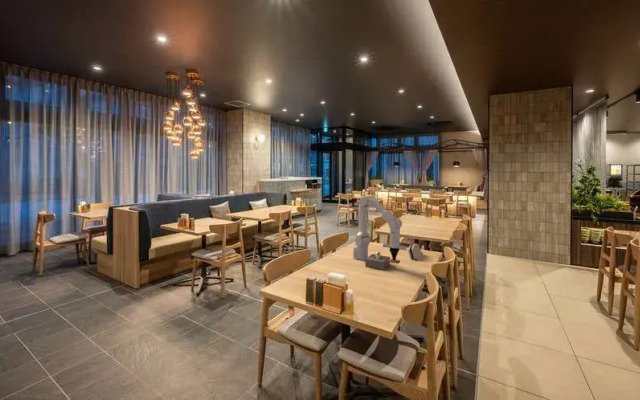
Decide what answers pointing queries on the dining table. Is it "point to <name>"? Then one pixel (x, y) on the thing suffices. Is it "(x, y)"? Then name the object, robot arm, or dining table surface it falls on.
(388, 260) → the bar
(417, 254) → the hinge
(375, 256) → the pin
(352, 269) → the dining table surface
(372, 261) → the pin block
